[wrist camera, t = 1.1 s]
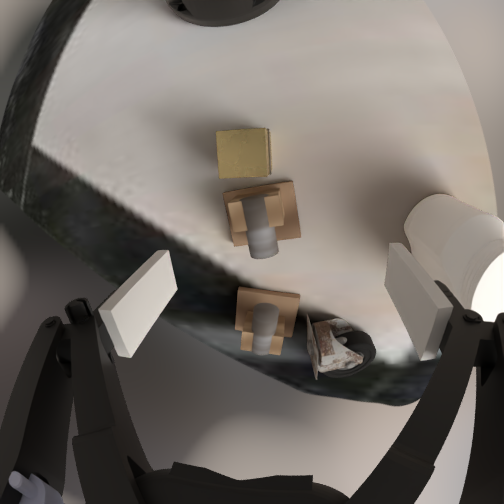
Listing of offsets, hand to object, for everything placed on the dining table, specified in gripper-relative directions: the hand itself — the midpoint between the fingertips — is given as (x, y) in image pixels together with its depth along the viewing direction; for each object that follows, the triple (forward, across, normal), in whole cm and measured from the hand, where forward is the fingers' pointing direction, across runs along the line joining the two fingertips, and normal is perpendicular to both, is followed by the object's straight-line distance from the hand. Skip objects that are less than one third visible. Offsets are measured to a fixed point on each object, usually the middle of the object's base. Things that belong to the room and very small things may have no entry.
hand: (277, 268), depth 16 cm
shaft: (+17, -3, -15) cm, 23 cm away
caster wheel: (+17, +7, -20) cm, 28 cm away
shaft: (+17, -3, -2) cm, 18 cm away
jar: (+18, +20, -5) cm, 27 cm away
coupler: (+18, -3, +6) cm, 19 cm away
